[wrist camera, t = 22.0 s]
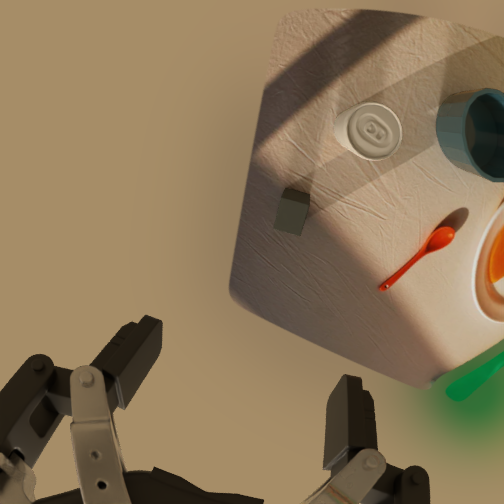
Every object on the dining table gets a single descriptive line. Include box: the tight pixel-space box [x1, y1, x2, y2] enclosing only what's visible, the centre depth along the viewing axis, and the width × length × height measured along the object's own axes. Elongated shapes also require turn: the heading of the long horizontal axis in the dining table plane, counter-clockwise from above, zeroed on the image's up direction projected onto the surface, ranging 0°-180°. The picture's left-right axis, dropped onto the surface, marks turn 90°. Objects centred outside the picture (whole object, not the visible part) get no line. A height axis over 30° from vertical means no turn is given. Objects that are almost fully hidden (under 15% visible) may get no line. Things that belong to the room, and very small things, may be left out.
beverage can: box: [334, 101, 403, 161], centre depth 25 cm, size 5×5×12 cm
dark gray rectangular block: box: [273, 188, 310, 236], centre depth 33 cm, size 3×4×5 cm
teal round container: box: [436, 88, 504, 182], centre depth 23 cm, size 10×10×7 cm
